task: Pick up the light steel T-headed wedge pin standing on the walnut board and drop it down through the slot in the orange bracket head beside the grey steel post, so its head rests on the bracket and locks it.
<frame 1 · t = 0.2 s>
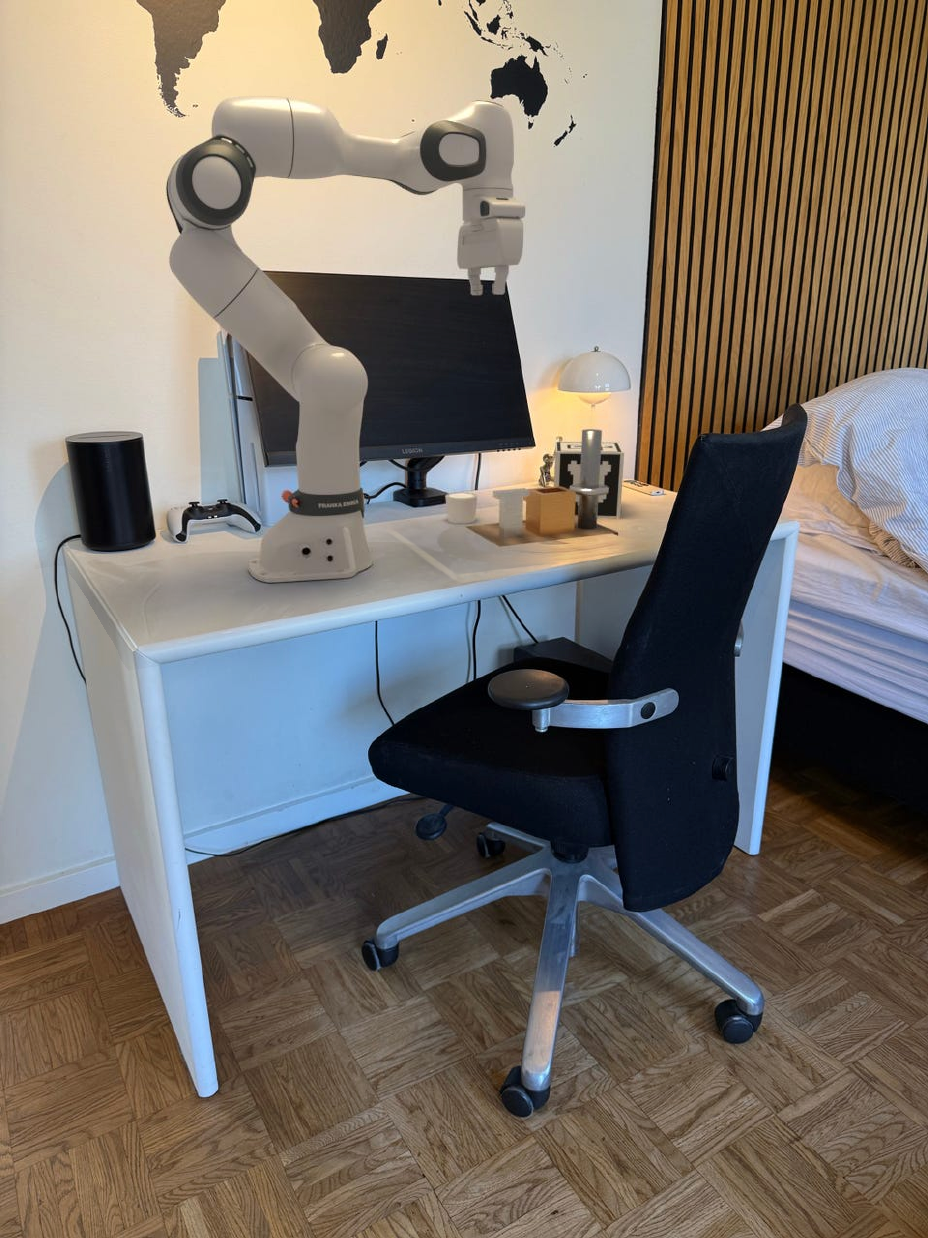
hand: (487, 294, 152), 47 cm above the table, tool pointing down, fingers open, 8 cm apart
white short cylinder: (461, 527, 184), on the table
wedge pin: (510, 535, 171), point 1 cm above the table, touching base board
ringlock node: (562, 478, 175), on the base board, point 12 cm above the table
base board: (540, 536, 176), on the table
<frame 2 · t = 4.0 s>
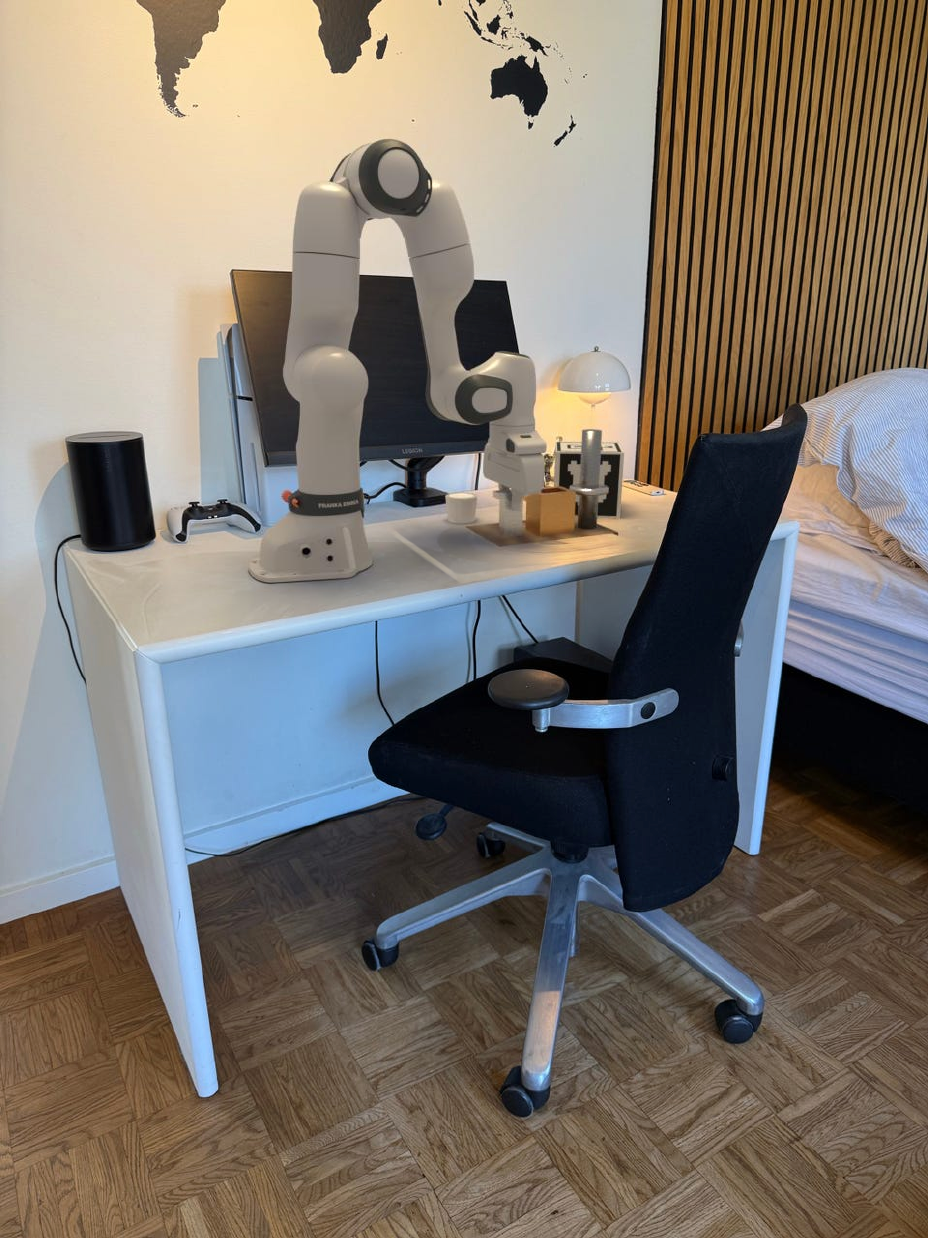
hand: (510, 508, 169), 7 cm above the table, tool pointing down, fingers closed on wedge pin, 2 cm apart
wedge pin: (510, 535, 171), point 1 cm above the table, touching base board, gripper
everything else where it was.
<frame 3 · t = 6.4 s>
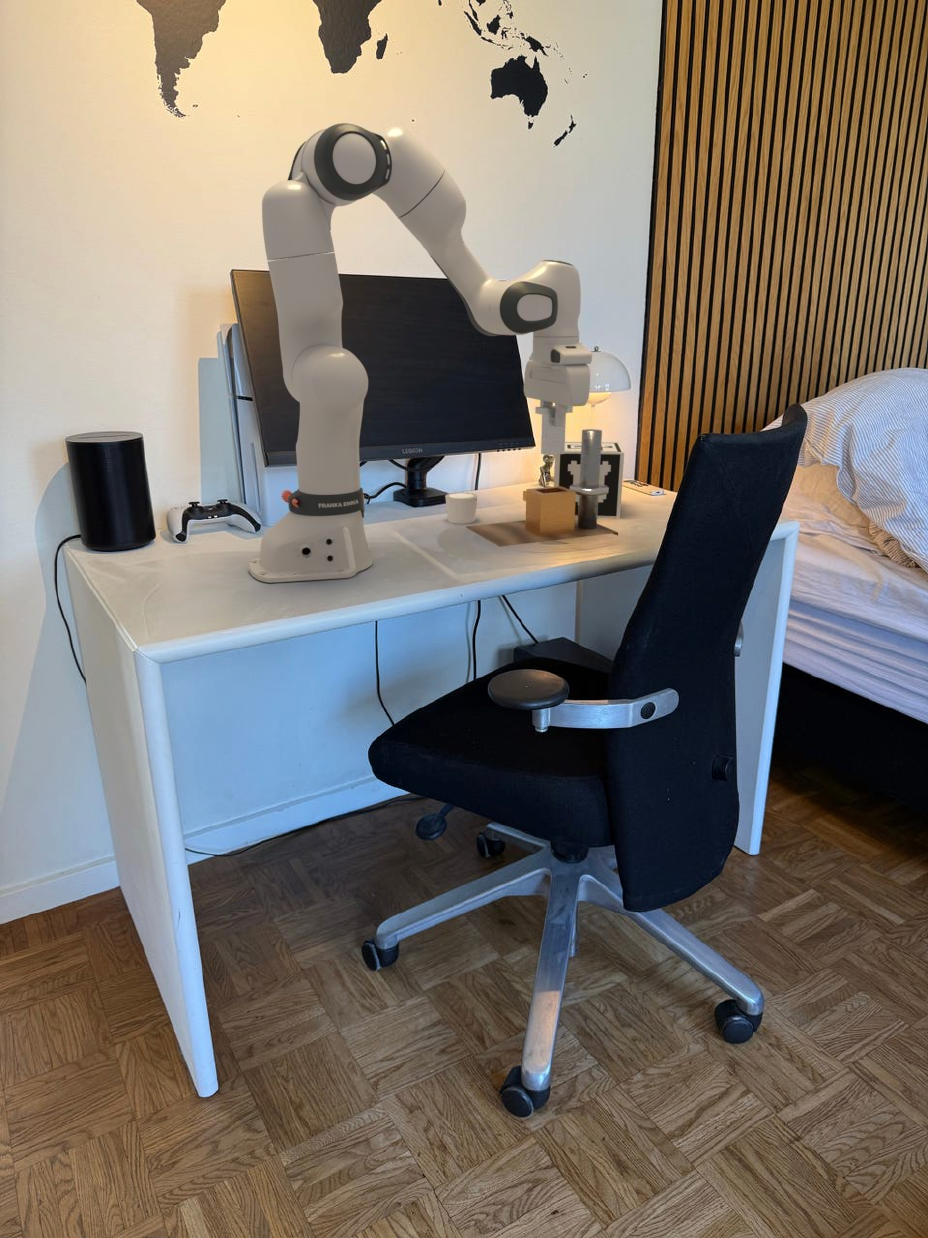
hand: (553, 425, 167), 23 cm above the table, tool pointing down, fingers closed on wedge pin, 2 cm apart
wedge pin: (552, 453, 169), point 17 cm above the table, touching gripper
everything else where it was.
when the fingers open (11 cm above the table, at t = 8.9 s): wedge pin drops 3 cm, resting on ringlock node.
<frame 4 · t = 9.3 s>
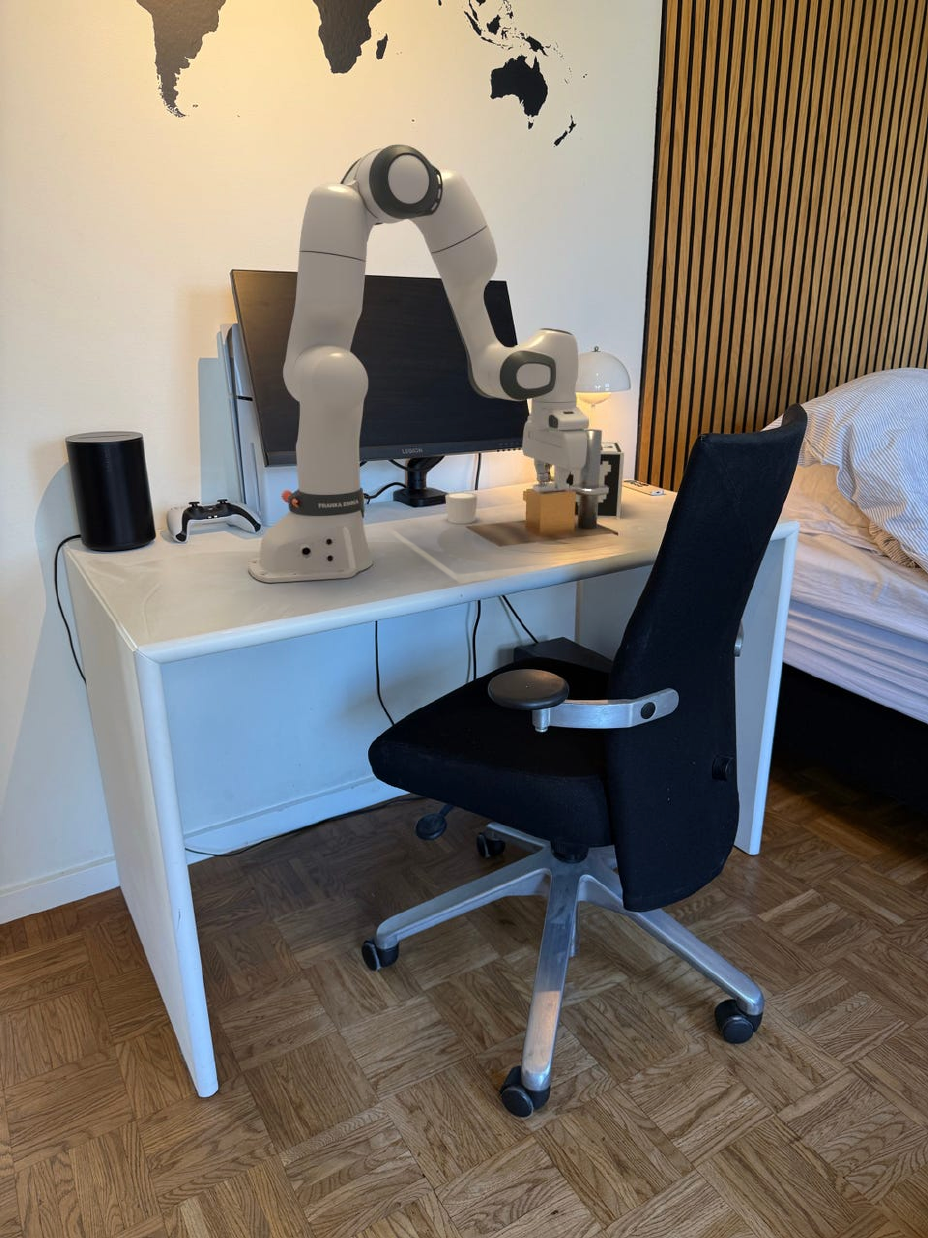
hand: (550, 485, 171), 11 cm above the table, tool pointing down, fingers open, 6 cm apart
wedge pin: (549, 528, 174), point 2 cm above the table, touching ringlock node
everything else where it was.
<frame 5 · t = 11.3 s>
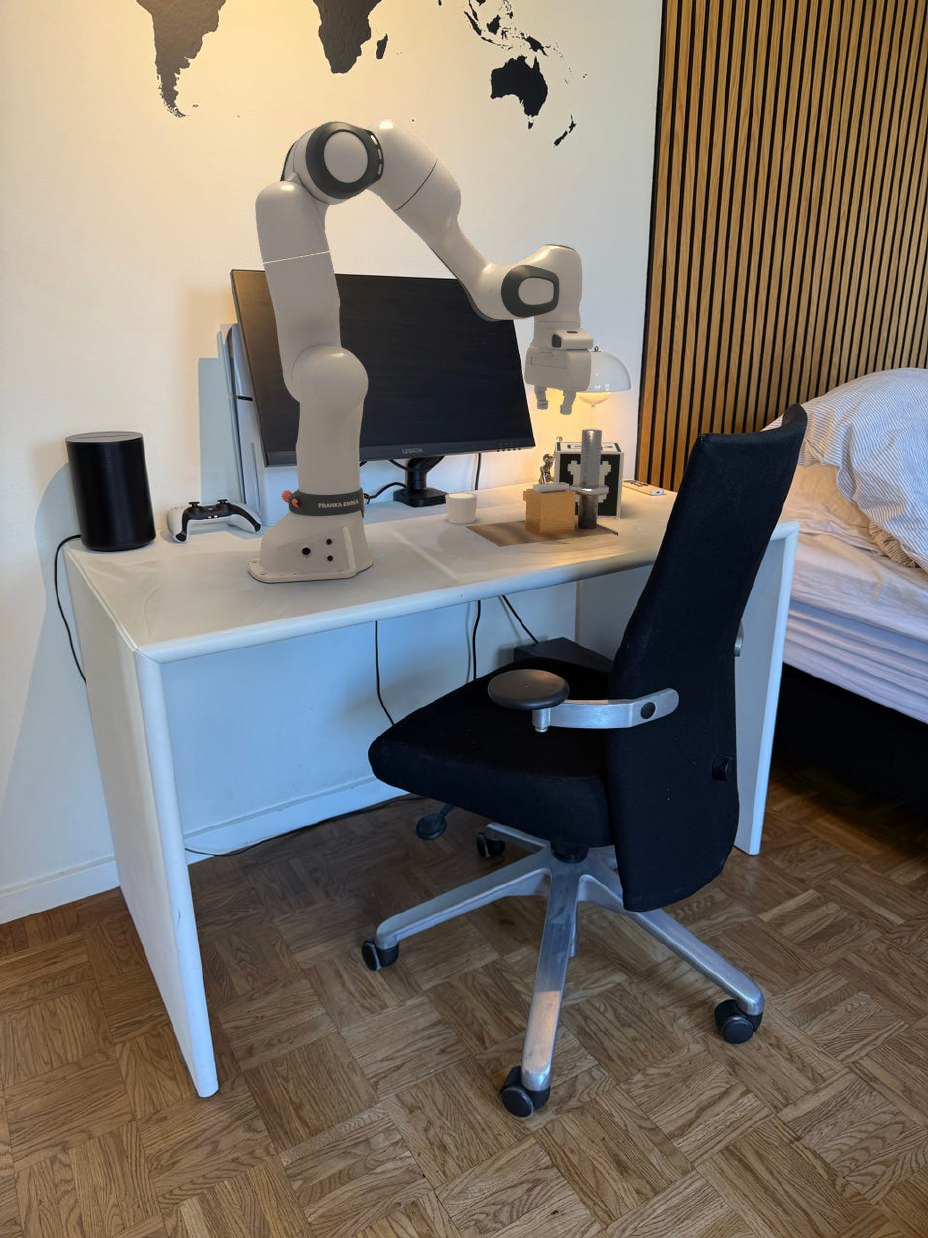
hand: (553, 411, 166), 26 cm above the table, tool pointing down, fingers open, 8 cm apart
nothing on the table moved.
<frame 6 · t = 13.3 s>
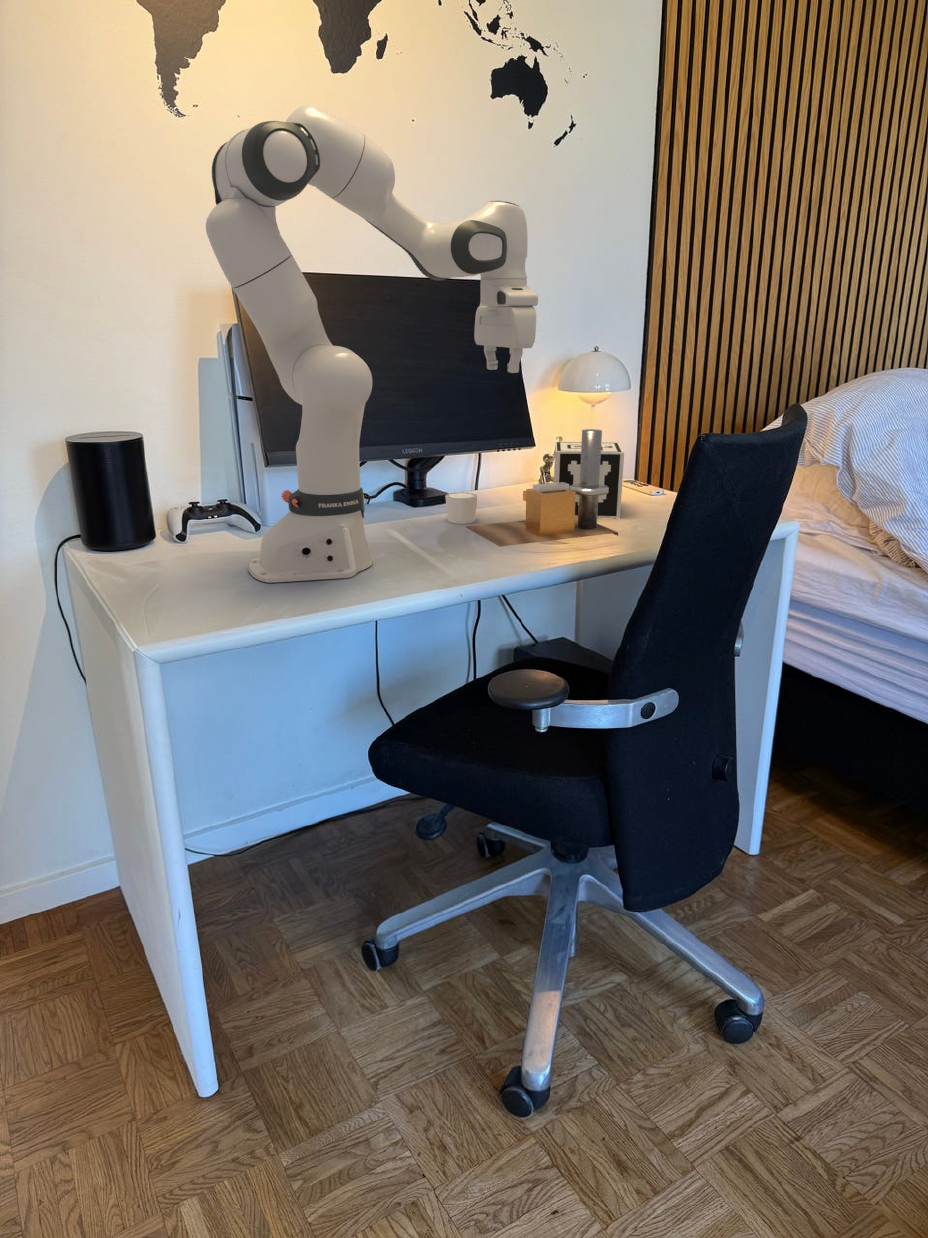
hand: (502, 370, 167), 33 cm above the table, tool pointing down, fingers open, 8 cm apart
nothing on the table moved.
at the end: wedge pin 0.0 cm from the target spot on the ringlock node, point 2.0 cm above the ringlock node's base; wedge pin tilted 0°; the gripper is holding nothing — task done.
